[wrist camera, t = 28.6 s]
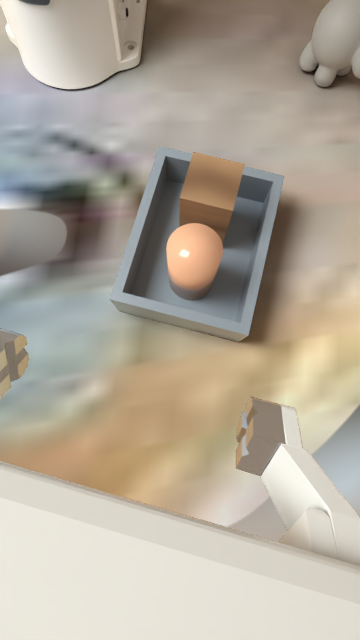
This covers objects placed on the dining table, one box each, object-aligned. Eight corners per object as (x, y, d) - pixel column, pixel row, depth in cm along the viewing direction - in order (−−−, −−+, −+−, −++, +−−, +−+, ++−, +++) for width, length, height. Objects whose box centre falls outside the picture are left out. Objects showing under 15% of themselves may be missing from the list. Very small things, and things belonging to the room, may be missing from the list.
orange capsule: (175, 253, 36) (174, 217, 28) (217, 264, 36) (228, 230, 28) (163, 293, 35) (159, 268, 27) (207, 305, 35) (215, 282, 27)
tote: (161, 175, 39) (159, 146, 34) (270, 202, 38) (284, 175, 34) (118, 310, 35) (109, 299, 31) (238, 342, 35) (248, 335, 30)
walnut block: (190, 200, 37) (193, 151, 29) (230, 210, 37) (244, 164, 29) (179, 238, 36) (179, 197, 28) (220, 248, 36) (232, 210, 28)
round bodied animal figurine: (346, 126, 41) (390, 60, 32) (287, 66, 43) (314, -11, 34) (386, 100, 42) (438, 29, 33) (326, 41, 44) (362, -39, 35)
